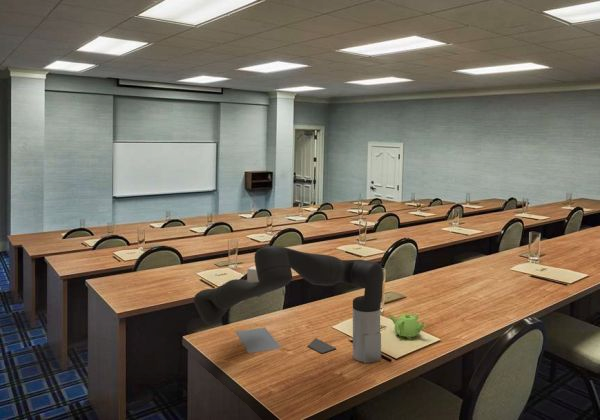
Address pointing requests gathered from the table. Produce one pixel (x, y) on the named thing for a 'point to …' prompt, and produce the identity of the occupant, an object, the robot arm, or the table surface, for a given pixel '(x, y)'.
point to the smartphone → (320, 346)
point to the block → (252, 276)
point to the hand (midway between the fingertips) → (259, 281)
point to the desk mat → (257, 340)
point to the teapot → (407, 325)
